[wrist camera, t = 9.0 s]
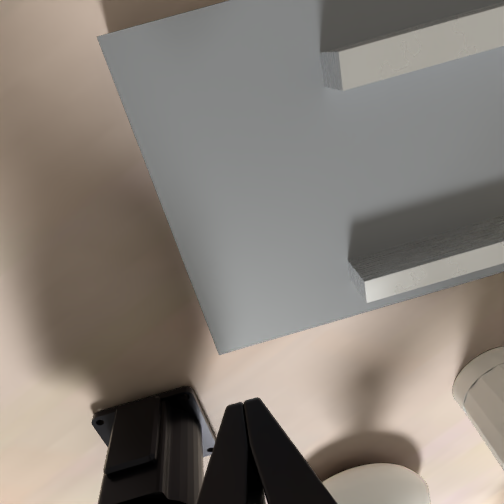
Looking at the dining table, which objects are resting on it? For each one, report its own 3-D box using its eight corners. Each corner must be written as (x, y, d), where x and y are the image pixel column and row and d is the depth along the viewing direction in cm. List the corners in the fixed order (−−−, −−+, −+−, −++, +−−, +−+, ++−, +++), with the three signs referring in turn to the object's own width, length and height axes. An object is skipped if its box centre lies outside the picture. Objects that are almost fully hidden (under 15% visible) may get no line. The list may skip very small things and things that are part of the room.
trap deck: (727, 176, 23) (785, 189, 21) (215, 325, 22) (219, 354, 20) (861, -167, 16) (972, -203, 13) (110, 39, 15) (96, 36, 13)
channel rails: (519, 230, 19) (553, 248, 17) (350, 280, 19) (366, 302, 17) (549, -12, 14) (600, -22, 12) (319, 52, 14) (338, 51, 12)
